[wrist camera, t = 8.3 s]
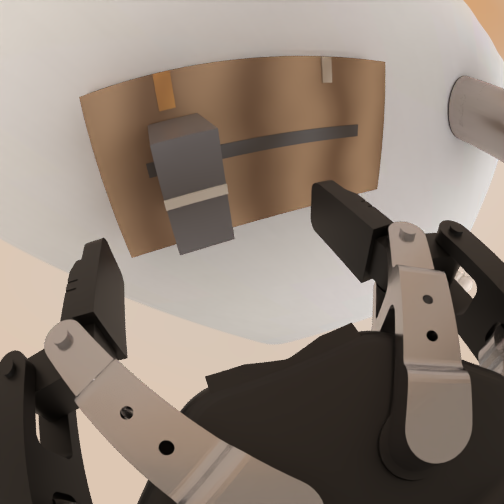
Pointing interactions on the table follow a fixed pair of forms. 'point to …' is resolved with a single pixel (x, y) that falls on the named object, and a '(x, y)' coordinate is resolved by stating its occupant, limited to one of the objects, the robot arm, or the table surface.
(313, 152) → the fader base
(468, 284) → the chess pawn
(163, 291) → the table surface
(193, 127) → the fader cap
